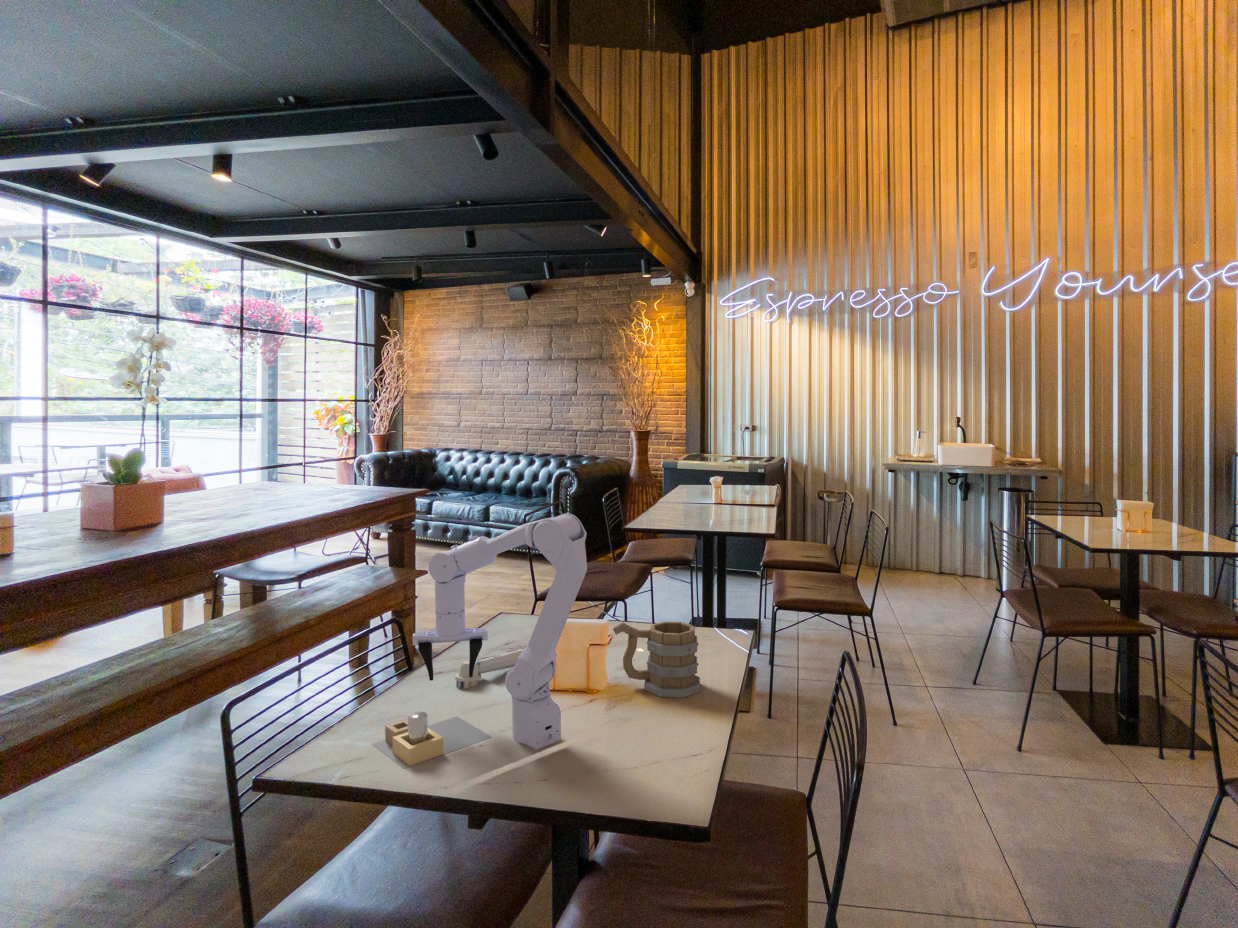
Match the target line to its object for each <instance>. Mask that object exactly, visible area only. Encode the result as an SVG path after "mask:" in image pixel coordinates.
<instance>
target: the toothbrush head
mask: <svg viewBox="0 0 1238 928" xmlns="http://www.w3.org/2000/svg"><path fill="white" fill-rule="evenodd" d="M525 648H526V647H524V646H523V647H522V646H521V647H520V648H519V649H516V650H515V649H514V650H512V651H508V652H504V653H500V654H497V655H494V656H490V657H486V658H483V659H479V660H476V662H475V665H474V670H473V677H469V660H464V661H461V663H460V665H459V670H458V673H456V674H455V675H454V680H455V681H456V683H455V686H456V688H458V689H469V688H473V687H476V686H478V685H479V683H480V680H481V679H482V674H486V673H487V674H488V673H492V672H495V671H500V670H501V671H502V670H505V669H511V668H512V667H514V666H515V664H516V662H517V659H518V658H519V656H520V655H521V653H522V652H523V651H524V650H525Z"/></svg>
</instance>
